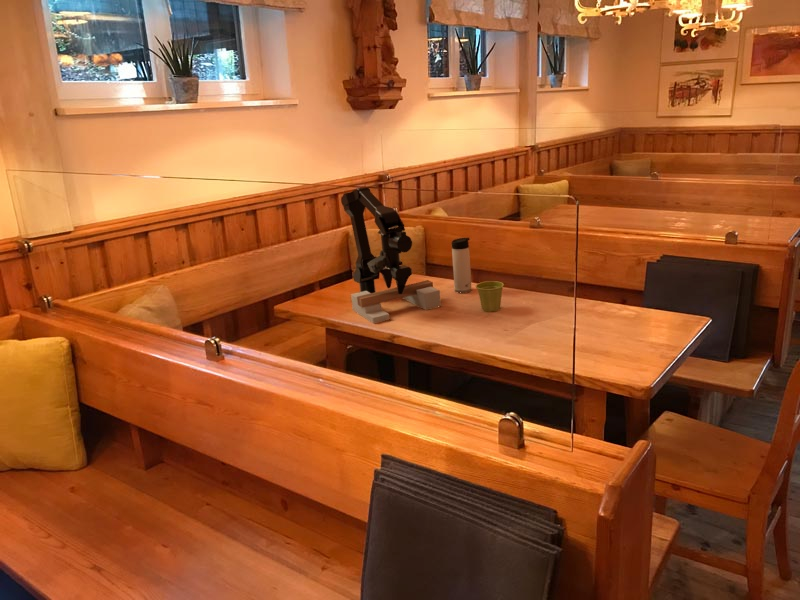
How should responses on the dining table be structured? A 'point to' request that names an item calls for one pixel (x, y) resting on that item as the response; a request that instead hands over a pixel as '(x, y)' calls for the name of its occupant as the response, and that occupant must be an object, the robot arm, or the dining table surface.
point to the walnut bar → (391, 294)
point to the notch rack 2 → (425, 298)
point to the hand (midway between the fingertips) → (394, 290)
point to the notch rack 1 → (369, 309)
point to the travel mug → (461, 265)
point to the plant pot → (490, 295)
